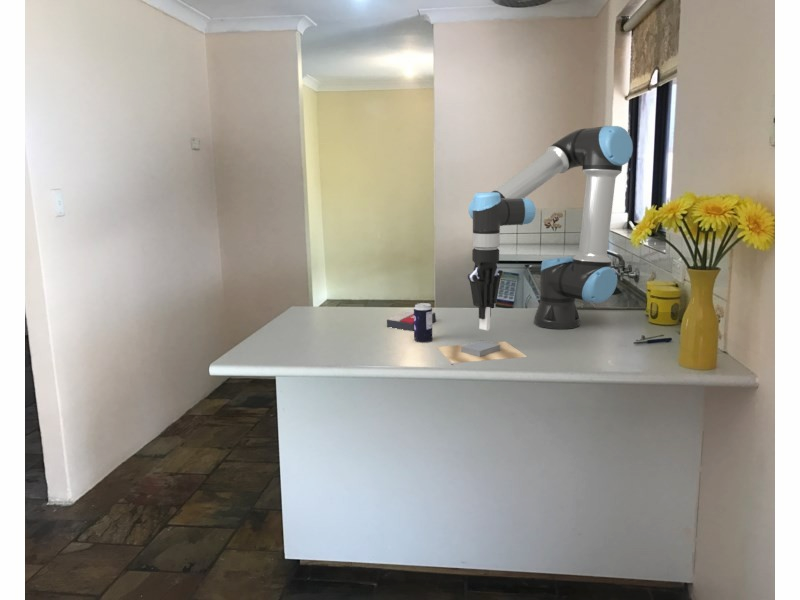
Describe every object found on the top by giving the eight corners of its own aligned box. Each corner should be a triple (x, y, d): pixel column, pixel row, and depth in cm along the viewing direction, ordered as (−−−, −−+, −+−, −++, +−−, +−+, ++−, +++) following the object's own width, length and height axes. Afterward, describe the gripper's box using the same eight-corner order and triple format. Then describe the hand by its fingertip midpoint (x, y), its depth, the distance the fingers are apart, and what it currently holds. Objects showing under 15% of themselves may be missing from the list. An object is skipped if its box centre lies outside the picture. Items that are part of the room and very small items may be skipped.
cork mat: (505, 343, 180) (505, 341, 180) (527, 358, 165) (527, 356, 165) (436, 348, 176) (436, 346, 175) (451, 365, 160) (451, 363, 160)
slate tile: (481, 340, 175) (461, 346, 169) (500, 344, 170) (479, 351, 164) (481, 345, 176) (461, 352, 170) (500, 350, 171) (479, 357, 165)
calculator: (386, 317, 201) (409, 307, 213) (386, 329, 202) (410, 318, 214) (413, 321, 195) (435, 310, 207) (413, 334, 196) (436, 322, 208)
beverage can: (426, 338, 187) (426, 302, 184) (435, 343, 182) (435, 305, 179) (410, 341, 184) (410, 304, 182) (419, 345, 179) (419, 307, 177)
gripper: (490, 245, 172) (489, 322, 177) (460, 249, 164) (459, 330, 169) (510, 246, 167) (508, 327, 172) (480, 251, 158) (479, 335, 163)
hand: (484, 328), depth 170 cm, fingers closed
